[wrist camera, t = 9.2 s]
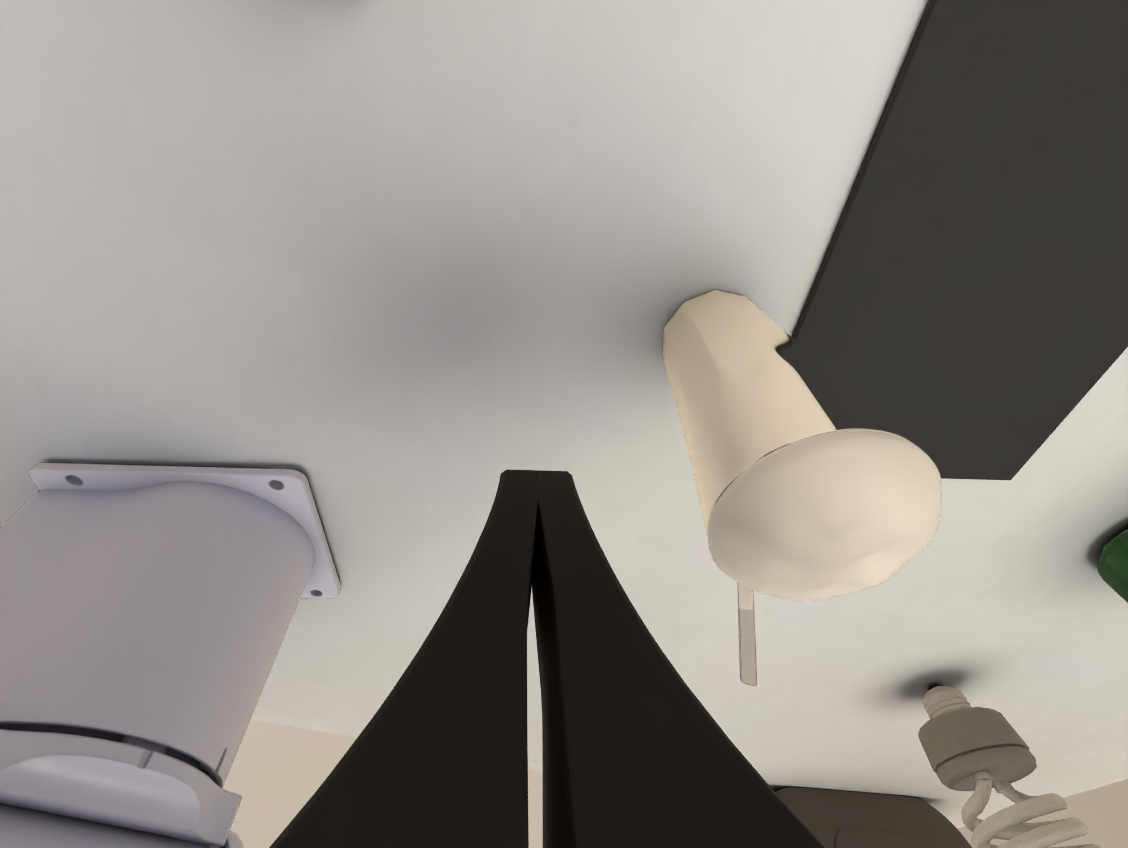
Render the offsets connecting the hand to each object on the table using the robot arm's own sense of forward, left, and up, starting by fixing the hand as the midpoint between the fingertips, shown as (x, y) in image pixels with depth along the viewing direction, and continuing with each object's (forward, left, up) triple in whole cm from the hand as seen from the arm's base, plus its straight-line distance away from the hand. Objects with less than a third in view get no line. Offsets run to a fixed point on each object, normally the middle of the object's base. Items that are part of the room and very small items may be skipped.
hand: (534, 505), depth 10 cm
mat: (+15, +4, -7) cm, 17 cm away
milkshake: (+6, 0, -8) cm, 9 cm away
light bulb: (+29, -25, -8) cm, 39 cm away
